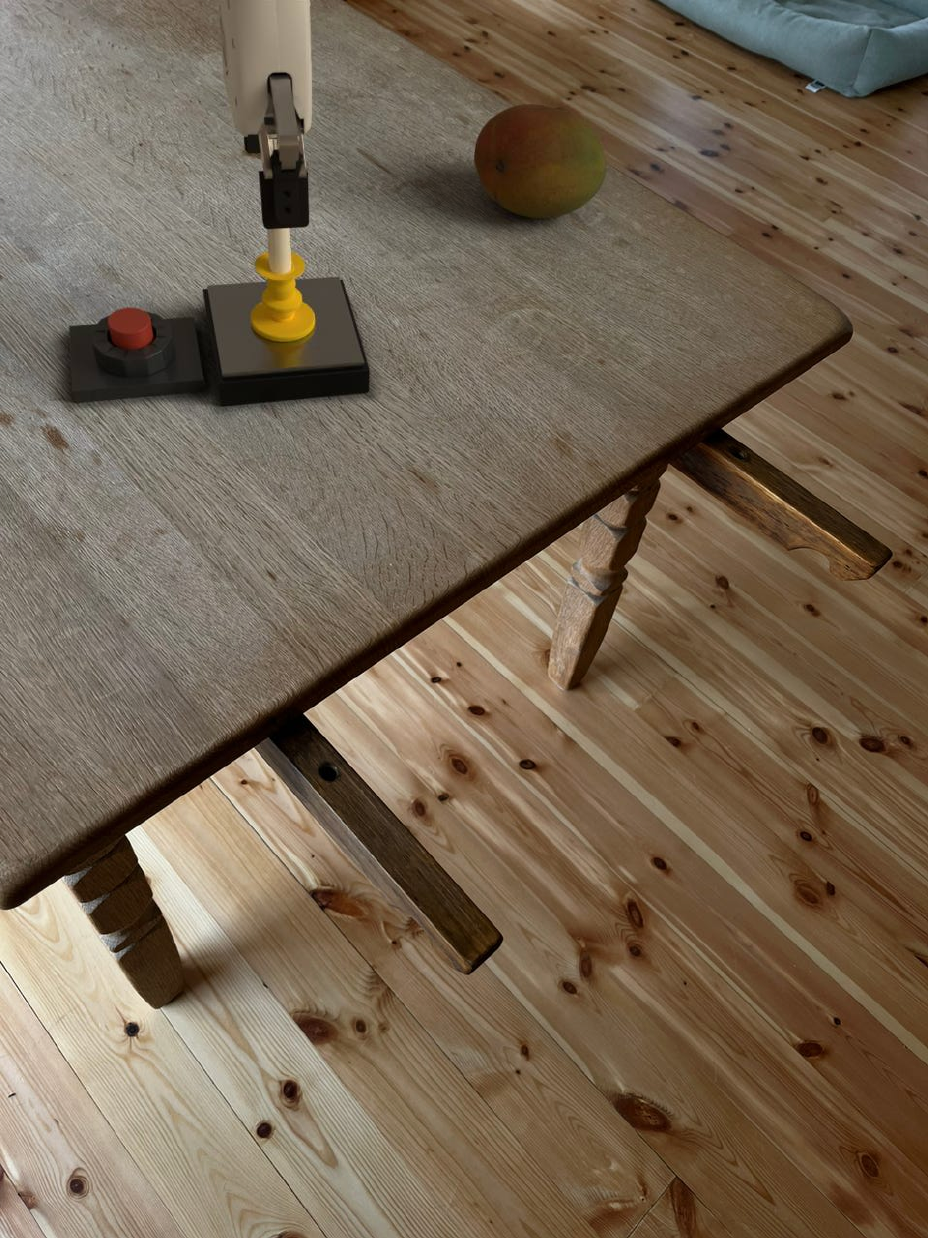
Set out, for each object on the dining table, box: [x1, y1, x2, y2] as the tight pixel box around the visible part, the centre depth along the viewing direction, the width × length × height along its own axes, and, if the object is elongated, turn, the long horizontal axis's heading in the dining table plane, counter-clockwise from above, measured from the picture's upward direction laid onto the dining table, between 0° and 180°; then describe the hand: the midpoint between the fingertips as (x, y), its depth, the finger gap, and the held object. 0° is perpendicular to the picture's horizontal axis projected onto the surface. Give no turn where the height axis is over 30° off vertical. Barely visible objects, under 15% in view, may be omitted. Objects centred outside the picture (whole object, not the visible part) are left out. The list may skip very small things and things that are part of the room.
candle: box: [250, 138, 315, 342], centre depth 76 cm, size 5×5×16 cm
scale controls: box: [68, 310, 206, 404], centre depth 81 cm, size 10×8×3 cm
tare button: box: [108, 307, 153, 350], centre depth 79 cm, size 3×3×2 cm
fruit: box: [473, 103, 607, 219], centre depth 98 cm, size 12×13×10 cm
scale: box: [201, 276, 371, 407], centre depth 84 cm, size 12×12×3 cm
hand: (275, 186), depth 73 cm, fingers open, 9 cm apart
